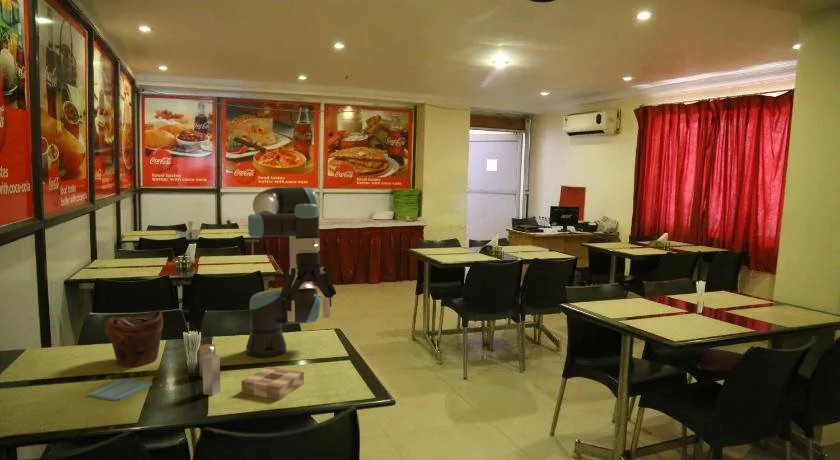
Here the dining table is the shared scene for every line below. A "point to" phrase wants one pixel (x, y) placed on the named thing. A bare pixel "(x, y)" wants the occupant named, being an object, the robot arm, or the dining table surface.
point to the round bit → (205, 351)
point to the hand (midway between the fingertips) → (309, 319)
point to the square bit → (211, 374)
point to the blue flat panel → (120, 389)
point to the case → (135, 338)
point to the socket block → (272, 383)
